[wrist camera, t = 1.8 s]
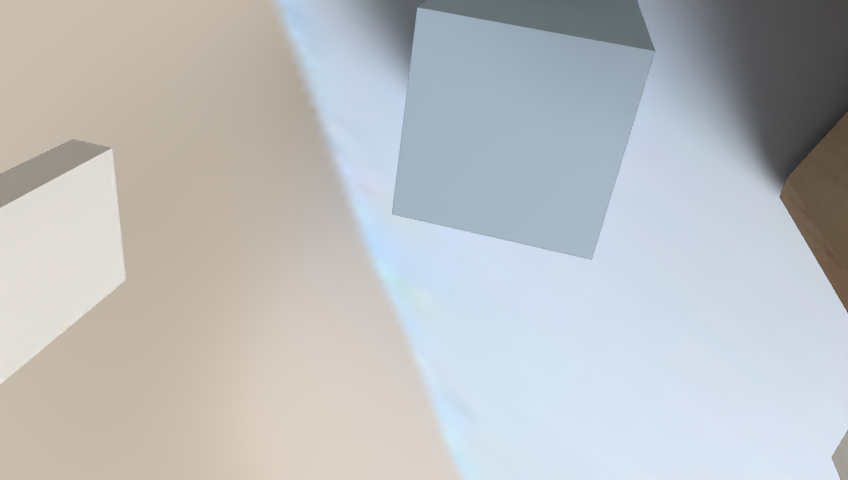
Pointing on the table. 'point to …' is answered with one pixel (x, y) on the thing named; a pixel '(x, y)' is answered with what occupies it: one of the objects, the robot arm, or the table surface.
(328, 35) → the table surface
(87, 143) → the robot arm
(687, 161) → the table surface
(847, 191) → the wooden block
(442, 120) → the slate blue block
